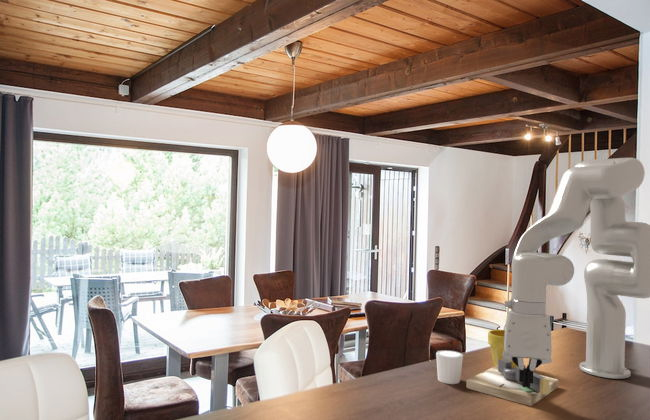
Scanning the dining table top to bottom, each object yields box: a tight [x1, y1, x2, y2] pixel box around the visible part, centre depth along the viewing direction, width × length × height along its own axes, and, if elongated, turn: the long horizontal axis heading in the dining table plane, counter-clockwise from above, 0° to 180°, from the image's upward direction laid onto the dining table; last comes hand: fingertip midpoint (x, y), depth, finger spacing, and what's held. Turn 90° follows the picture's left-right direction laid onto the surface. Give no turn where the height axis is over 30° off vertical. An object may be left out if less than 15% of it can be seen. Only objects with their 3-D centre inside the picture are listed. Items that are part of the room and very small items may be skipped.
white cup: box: [435, 349, 464, 385], centre depth 131 cm, size 7×7×7 cm
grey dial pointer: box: [498, 359, 550, 395], centre depth 124 cm, size 16×4×3 cm, turn 17°
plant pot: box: [487, 329, 518, 368], centre depth 143 cm, size 10×10×10 cm
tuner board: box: [466, 365, 559, 407], centre depth 127 cm, size 18×16×2 cm
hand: (525, 385), depth 118 cm, fingers closed
